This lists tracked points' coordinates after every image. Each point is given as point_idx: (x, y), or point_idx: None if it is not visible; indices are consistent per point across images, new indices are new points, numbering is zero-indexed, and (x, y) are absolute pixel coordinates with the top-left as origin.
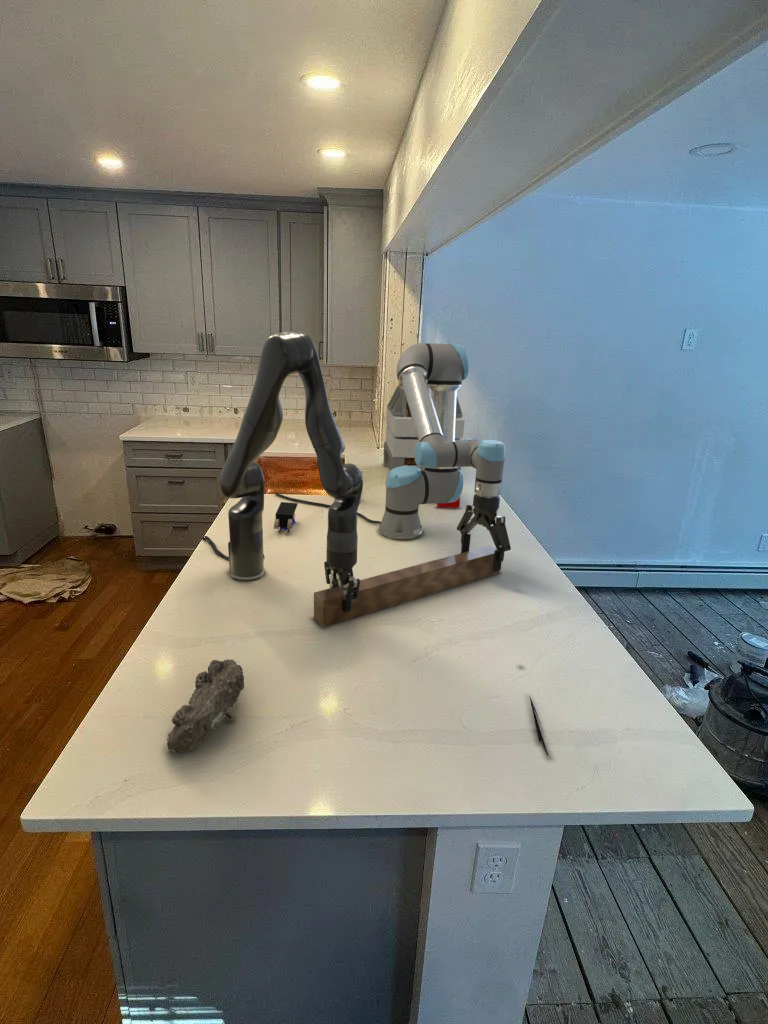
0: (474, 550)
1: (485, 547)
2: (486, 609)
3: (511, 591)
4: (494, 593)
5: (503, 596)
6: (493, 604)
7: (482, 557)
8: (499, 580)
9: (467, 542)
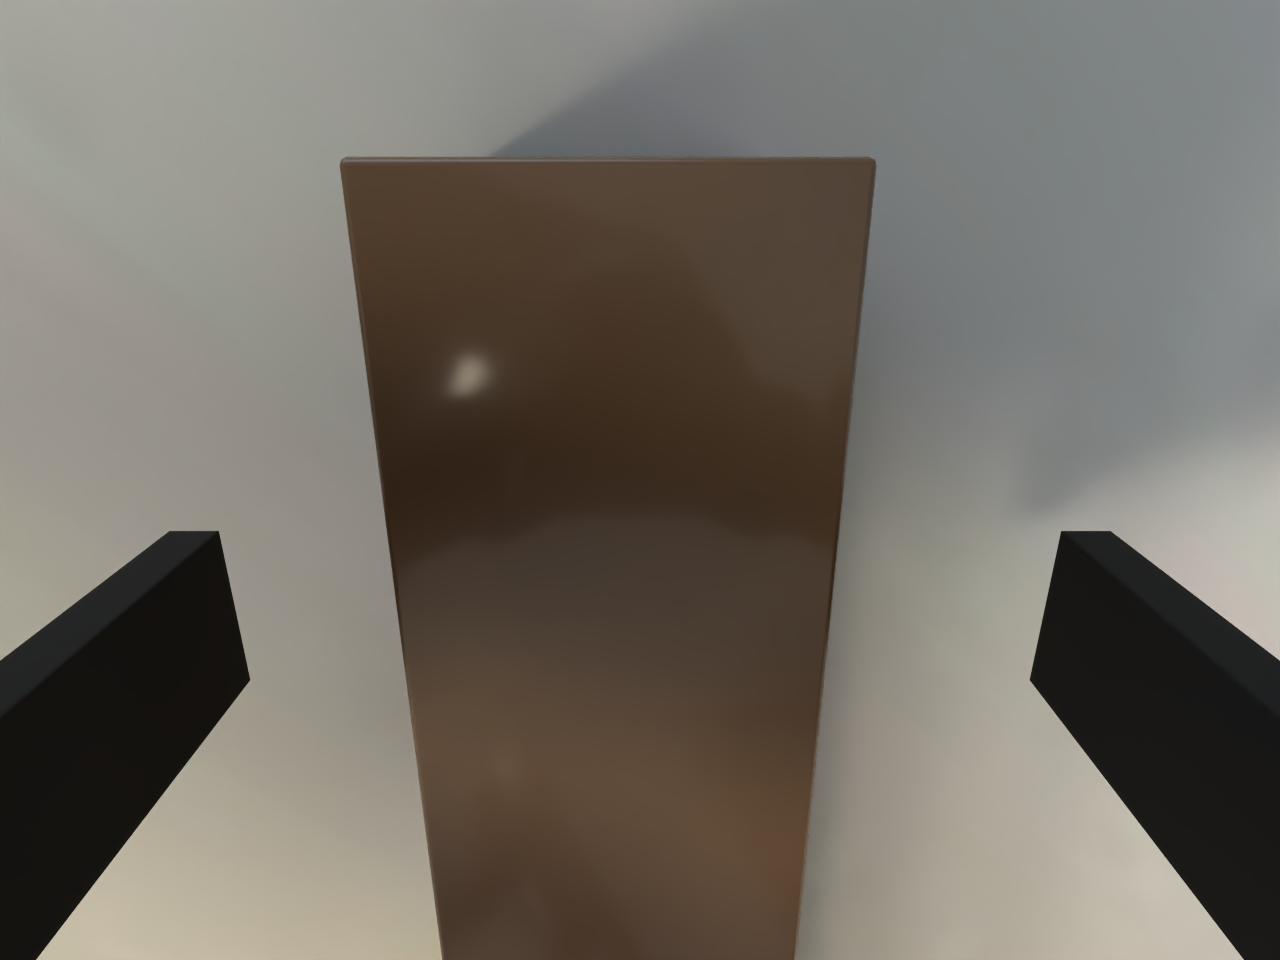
0: (456, 773)
1: (417, 424)
2: None
3: (1240, 456)
4: None
5: None
6: None
7: (805, 814)
8: (927, 358)
9: (56, 776)
